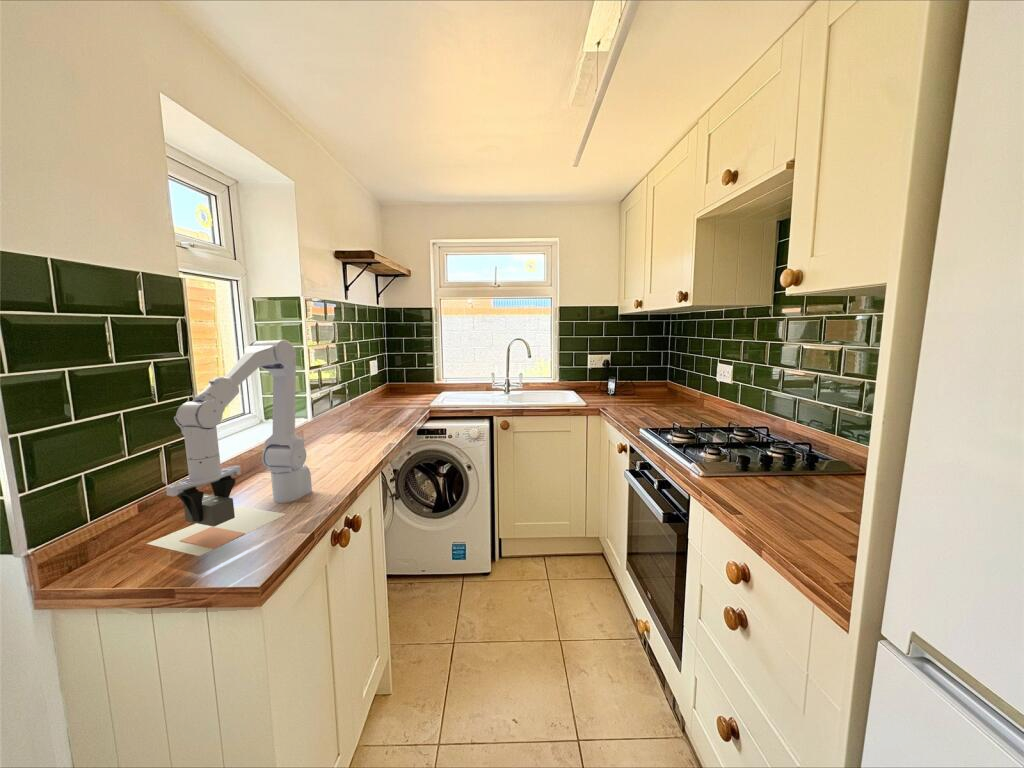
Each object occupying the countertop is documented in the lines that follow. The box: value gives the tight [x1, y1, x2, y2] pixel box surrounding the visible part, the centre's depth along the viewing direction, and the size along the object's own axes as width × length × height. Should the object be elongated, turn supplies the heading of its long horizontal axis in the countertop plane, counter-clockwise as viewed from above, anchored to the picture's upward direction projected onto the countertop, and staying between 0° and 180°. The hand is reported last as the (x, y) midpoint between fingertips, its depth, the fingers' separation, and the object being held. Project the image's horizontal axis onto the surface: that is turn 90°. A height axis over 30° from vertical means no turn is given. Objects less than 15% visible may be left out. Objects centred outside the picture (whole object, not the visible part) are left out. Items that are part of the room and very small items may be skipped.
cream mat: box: [146, 505, 287, 557], centre depth 98 cm, size 21×17×1 cm
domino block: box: [183, 493, 235, 527], centre depth 93 cm, size 9×5×5 cm, turn 70°
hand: (210, 515), depth 93 cm, fingers closed on domino block, 5 cm apart
